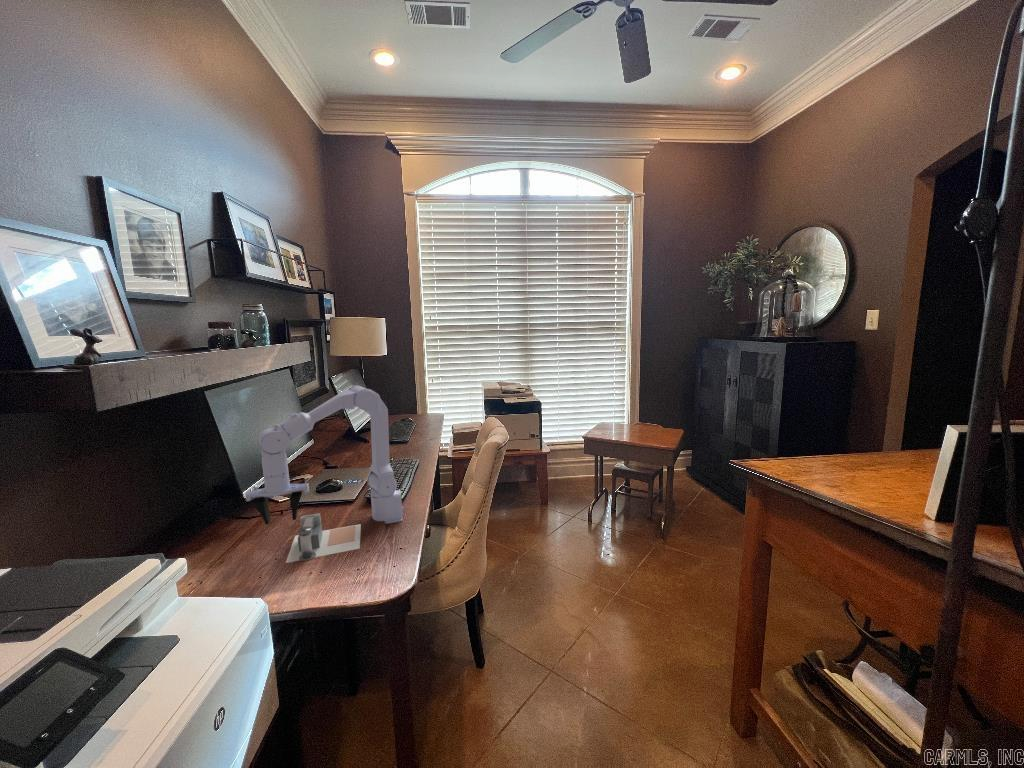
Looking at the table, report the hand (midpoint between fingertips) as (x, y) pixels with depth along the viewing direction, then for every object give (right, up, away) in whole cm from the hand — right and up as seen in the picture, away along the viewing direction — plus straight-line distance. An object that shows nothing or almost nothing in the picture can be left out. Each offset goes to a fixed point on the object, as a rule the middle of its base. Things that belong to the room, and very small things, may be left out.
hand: (281, 520), depth 104 cm
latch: (+7, -8, +1) cm, 11 cm away
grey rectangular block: (+6, -8, +4) cm, 11 cm away
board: (+10, -9, +5) cm, 14 cm away
